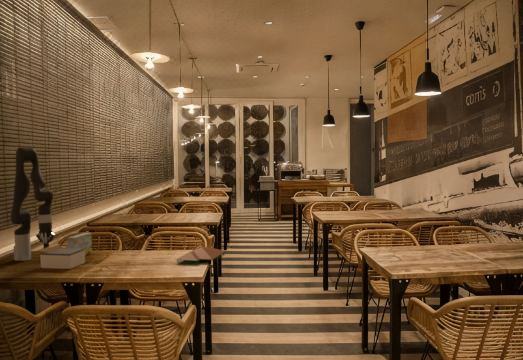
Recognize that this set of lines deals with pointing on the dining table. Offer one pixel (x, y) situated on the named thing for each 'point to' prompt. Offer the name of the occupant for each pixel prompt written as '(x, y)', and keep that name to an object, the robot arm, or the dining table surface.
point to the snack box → (81, 242)
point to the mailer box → (63, 260)
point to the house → (201, 255)
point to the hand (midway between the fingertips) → (46, 248)
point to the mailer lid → (60, 250)
